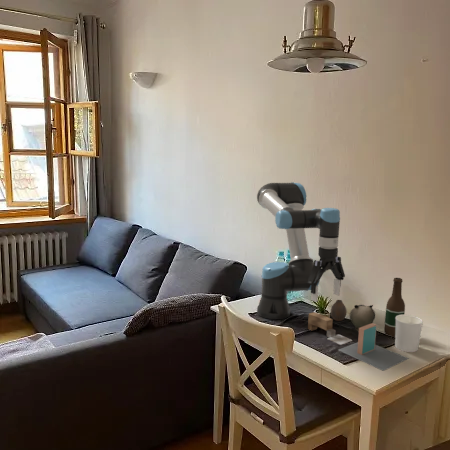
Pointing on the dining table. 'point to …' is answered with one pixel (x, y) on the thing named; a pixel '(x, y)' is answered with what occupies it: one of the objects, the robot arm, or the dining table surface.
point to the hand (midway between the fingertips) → (325, 297)
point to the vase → (338, 311)
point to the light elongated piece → (325, 327)
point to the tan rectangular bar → (366, 338)
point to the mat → (375, 356)
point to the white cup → (408, 332)
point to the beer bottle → (394, 308)
